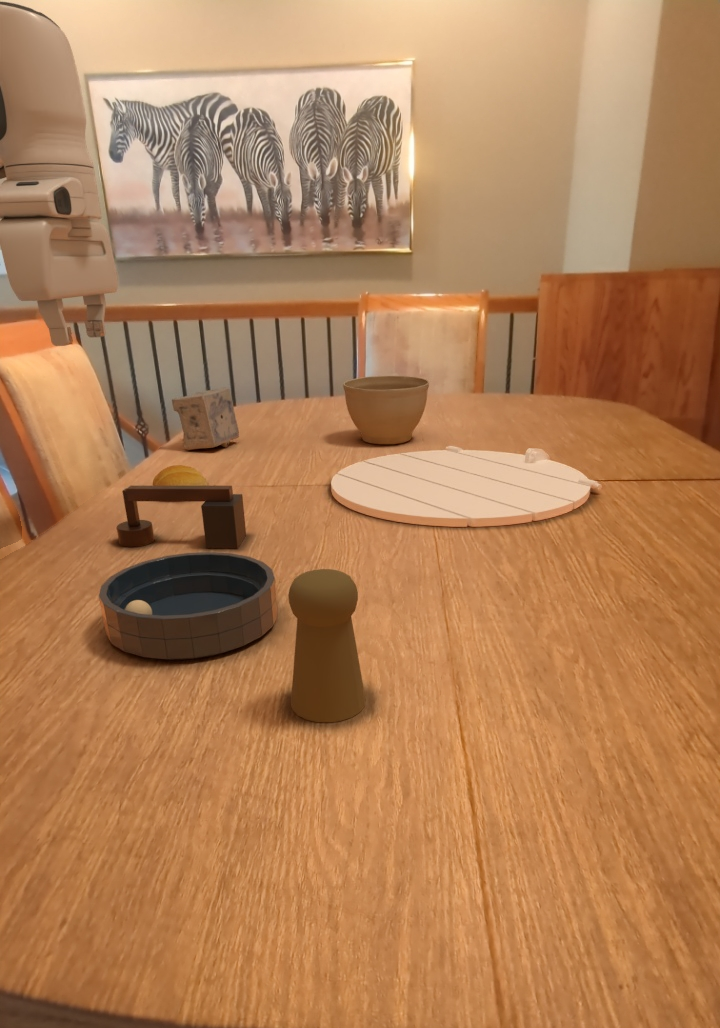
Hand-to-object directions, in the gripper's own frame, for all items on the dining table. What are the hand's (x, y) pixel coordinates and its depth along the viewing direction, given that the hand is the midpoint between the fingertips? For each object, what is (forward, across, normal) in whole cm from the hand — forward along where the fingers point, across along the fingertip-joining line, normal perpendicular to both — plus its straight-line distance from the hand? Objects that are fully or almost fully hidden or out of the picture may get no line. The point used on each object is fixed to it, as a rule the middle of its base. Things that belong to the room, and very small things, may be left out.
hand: (80, 340), depth 86 cm
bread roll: (+24, -22, +2) cm, 33 cm away
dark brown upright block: (+24, 0, +14) cm, 28 cm away
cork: (+24, +38, +32) cm, 55 cm away
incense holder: (+24, -54, -2) cm, 59 cm away
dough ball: (+22, +26, +12) cm, 36 cm away
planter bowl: (+24, -59, +32) cm, 71 cm away
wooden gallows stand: (+24, 0, +8) cm, 25 cm away
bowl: (+24, +24, +17) cm, 38 cm away
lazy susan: (+24, -26, +45) cm, 57 cm away
